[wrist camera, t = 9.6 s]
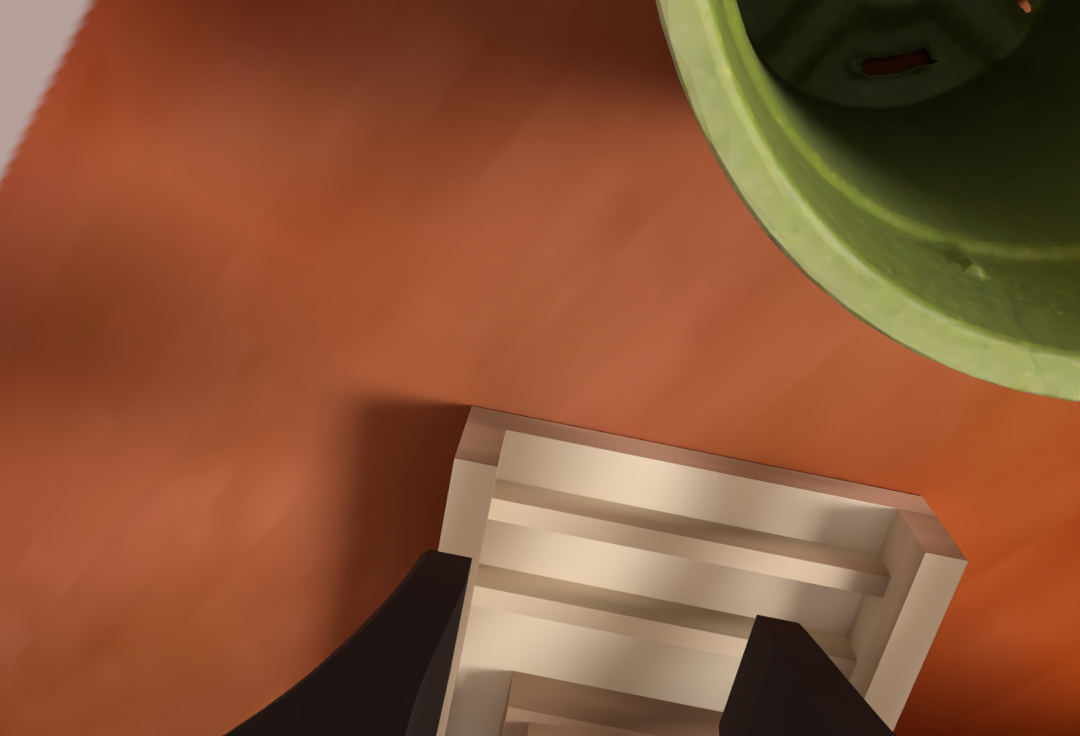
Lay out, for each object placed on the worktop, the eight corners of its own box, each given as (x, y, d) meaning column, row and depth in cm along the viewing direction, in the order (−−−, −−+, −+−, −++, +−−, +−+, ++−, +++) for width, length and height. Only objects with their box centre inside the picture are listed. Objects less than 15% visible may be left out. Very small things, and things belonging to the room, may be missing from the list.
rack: (921, 496, 23) (975, 571, 20) (752, 915, 28) (771, 1025, 25) (471, 406, 23) (451, 466, 19) (392, 846, 28) (367, 948, 25)
